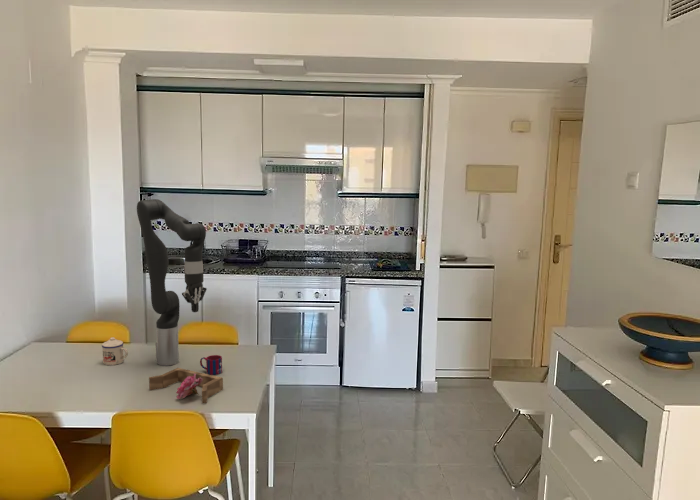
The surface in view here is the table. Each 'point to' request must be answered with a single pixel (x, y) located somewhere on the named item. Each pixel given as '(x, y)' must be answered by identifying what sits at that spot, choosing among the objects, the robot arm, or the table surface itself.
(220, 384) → the wooden slat frame
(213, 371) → the cup
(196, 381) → the flower
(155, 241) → the robot arm
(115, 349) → the teacup with lid
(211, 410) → the table surface
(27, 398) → the table surface
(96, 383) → the table surface
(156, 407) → the table surface
